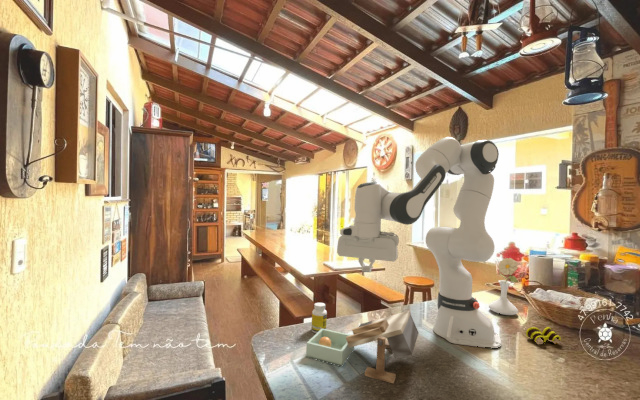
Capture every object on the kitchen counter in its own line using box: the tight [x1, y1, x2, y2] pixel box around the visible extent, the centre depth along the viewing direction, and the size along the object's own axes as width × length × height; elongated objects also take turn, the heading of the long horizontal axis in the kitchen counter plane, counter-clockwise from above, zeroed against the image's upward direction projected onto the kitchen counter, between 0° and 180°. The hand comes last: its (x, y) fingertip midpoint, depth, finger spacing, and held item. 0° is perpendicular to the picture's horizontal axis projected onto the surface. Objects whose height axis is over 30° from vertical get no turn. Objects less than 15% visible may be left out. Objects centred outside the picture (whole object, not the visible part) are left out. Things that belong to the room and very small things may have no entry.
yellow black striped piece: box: [525, 326, 561, 343], centre depth 113 cm, size 10×5×5 cm, turn 96°
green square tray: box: [305, 328, 355, 367], centre depth 100 cm, size 12×12×4 cm
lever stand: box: [364, 312, 397, 384], centre depth 97 cm, size 8×22×11 cm, turn 156°
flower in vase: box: [488, 257, 519, 316], centre depth 140 cm, size 13×11×25 cm
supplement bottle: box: [310, 302, 328, 334], centre depth 116 cm, size 5×5×10 cm
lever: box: [346, 310, 419, 359], centre depth 97 cm, size 17×16×9 cm
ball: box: [319, 337, 331, 347], centre depth 101 cm, size 4×4×4 cm
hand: (366, 271), depth 107 cm, fingers closed
